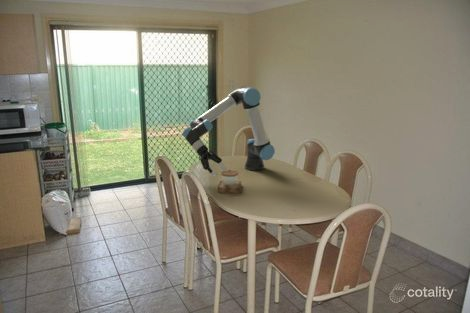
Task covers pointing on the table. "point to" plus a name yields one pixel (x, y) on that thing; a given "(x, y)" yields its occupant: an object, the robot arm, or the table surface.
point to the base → (229, 187)
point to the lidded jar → (229, 177)
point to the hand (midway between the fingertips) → (220, 173)
